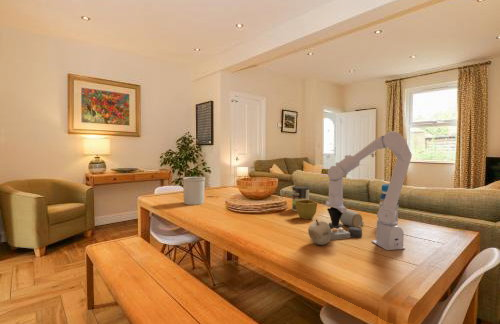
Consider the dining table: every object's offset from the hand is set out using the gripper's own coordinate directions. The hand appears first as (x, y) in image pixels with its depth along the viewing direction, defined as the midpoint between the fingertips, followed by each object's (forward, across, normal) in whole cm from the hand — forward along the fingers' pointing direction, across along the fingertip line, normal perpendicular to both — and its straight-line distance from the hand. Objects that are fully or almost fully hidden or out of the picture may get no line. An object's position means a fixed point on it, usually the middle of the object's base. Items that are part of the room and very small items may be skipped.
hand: (335, 225), depth 116 cm
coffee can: (+5, -50, +3) cm, 50 cm away
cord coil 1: (+5, -8, +4) cm, 10 cm away
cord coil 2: (+5, 0, +9) cm, 10 cm away
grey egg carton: (+5, 0, 0) cm, 5 cm away
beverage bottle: (+5, -10, +33) cm, 35 cm away
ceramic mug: (+5, -13, +16) cm, 22 cm away
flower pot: (+5, -31, -1) cm, 31 cm away
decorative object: (+5, +8, -11) cm, 14 cm away
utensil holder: (+5, -82, -62) cm, 103 cm away
